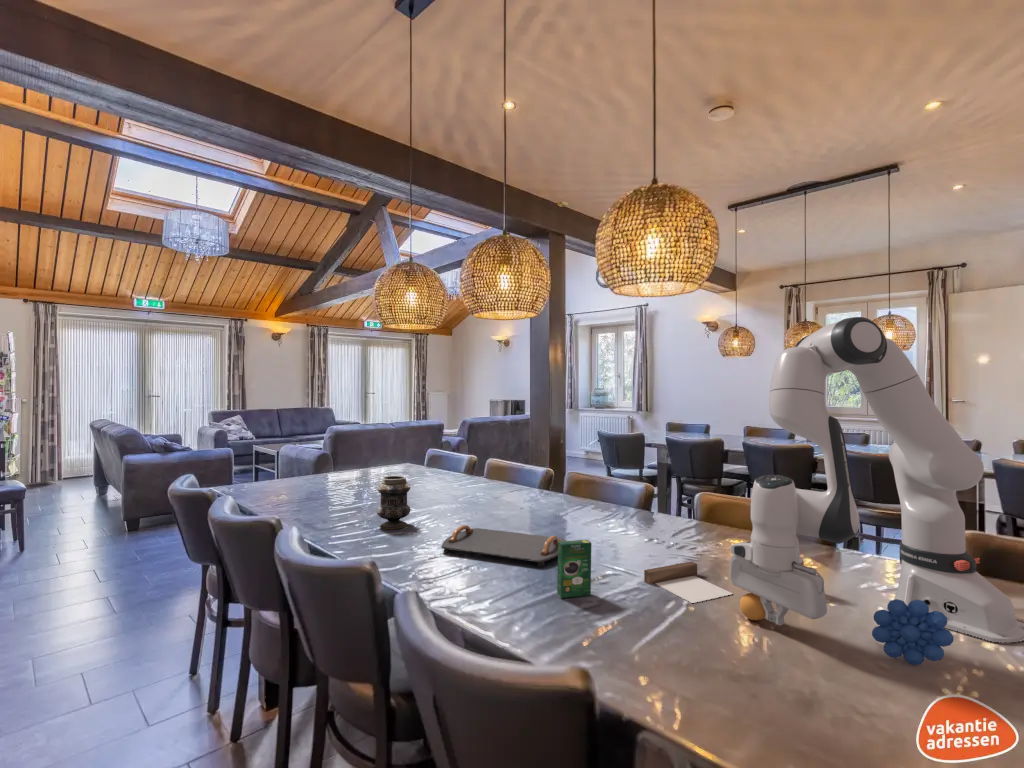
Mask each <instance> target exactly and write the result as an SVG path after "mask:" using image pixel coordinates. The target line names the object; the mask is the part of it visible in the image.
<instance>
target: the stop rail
mask: <svg viewBox="0 0 1024 768" xmlns="http://www.w3.org/2000/svg"><path fill="white" fill-rule="evenodd" d="M690 576H698V563H696V562H694V561H687V562H682V563H675V564H671V565H665V566H664V565H663V566H659V567H654V568H649V569H644V570H643V577H644V578H643V579H644V583H647V584H648V585H652V584H653V585H654V584H655V583H660V582H665V581H670V580H675V579H680V578H685V577H690Z"/></svg>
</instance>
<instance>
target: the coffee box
mask: <svg viewBox="0 0 1024 768" xmlns="http://www.w3.org/2000/svg"><path fill="white" fill-rule="evenodd" d="M591 574H592V542H591V541H590V540H588V539H577V540H576V539H575V540H565V541H558V556H557V575H556V577H557V583H556V585H557V586H556V588H557V590H556V591H557V592H556V593H557V596H558V597H559V598H560V599H569V598H576V597H587V596H591V595H592V594H591V593H592V592H591V591H592V584H591V583H592V575H591Z"/></svg>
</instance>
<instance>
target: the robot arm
mask: <svg viewBox="0 0 1024 768" xmlns="http://www.w3.org/2000/svg"><path fill="white" fill-rule="evenodd" d="M844 371H849V372H850V373H852V375H854V376H855V378H856V381H857V383H858V385H859V388H860V390H861V391H862V393H863V395H864V397H865V399H866V400H867V403H868V404H869V406H870V408H871V410H872V412H873V414H874V415H875V418H876V420H877V422H878V423H879V424H880V426H881V427H882V428H883V429H884V430H885V432H886V433H888V435H889V436H890V438H891V439H892V440H893V441H894V442H893V443H892V444H891V446H890V447H889V450H888V459H889V462H890V464H891V467H892V470H893V474H894V481H895V485H896V490H897V494H898V498H899V504H900V513H901V541H900V542H899V562H900V574H899V581H898V586H897V589H896V594H895V596H894V598H893V600H895V599H898V600H901V601H904V602H905V604H906V605H907V606H908V604H909V603H910V602H911V601H914V600H917V599H918V600H921V601H924V602H925V603H926V604H927V605H928V606H929V612H932V611H938V612H941V613H943V614H944V615H945V616H946V618H947V625H946V626H945V627H944V628H943V629H946V630H951V631H955V632H957V631H958V633H961V632H962V633H961V634H964V633H965V635H967V634H969V635H968V636H970V635H972V636H971V637H974V636H976V637H975V638H977V637H979V638H978V639H980V638H982V639H981V640H984V639H985V640H984V641H987V640H988V641H987V642H990V641H992V642H991V643H994V642H999V643H998V644H1005V643H1004V642H1016V641H1020V640H1023V639H1024V622H1022V621H1020V620H1019V621H1018V620H1017V616H1016V611H1015V608H1014V604H1013V602H1012V600H1011V599H1010V598H1009V596H1008V595H1006V594H1005V593H1004V592H1002V591H1001V590H1000V589H998V588H997V587H996V586H995V585H993V584H992V583H991V582H990V581H989V580H988V579H986V578H985V577H984V576H982V574H980V573H979V572H978V571H977V564H980V563H981V562H980V561H981V560H980V559H981V558H980V557H975V558H974V557H972V555H970V554H969V552H968V551H967V550H966V517H965V514H964V511H963V509H962V508H961V506H960V503H959V501H958V498H957V495H956V492H957V491H959V492H960V491H966V490H969V489H972V488H973V487H975V486H976V485H978V484H979V482H980V481H981V480H982V479H983V476H984V472H985V468H984V462H983V460H982V459H981V456H979V455H978V453H976V452H975V451H974V450H973V449H972V448H971V447H970V446H968V444H967V443H966V442H965V441H964V439H963V438H962V437H961V436H960V435H959V433H958V431H956V429H955V428H954V427H953V426H952V424H951V423H950V422H949V420H948V419H947V418H946V417H945V416H944V415H943V414H942V412H941V411H940V410H939V408H938V407H937V405H936V404H935V402H934V401H933V399H932V397H931V396H930V393H929V392H928V390H927V388H926V386H925V385H924V382H923V381H922V379H921V377H920V375H919V374H918V372H917V371H916V369H915V367H914V365H913V363H912V362H911V361H910V359H909V358H908V357H907V355H906V354H905V353H904V351H903V350H902V349H901V348H900V347H899V345H897V343H896V342H895V341H894V340H892V339H890V338H887V337H886V335H885V334H884V332H883V331H882V329H881V327H879V325H878V324H877V323H875V322H874V321H873V320H871V319H869V318H867V317H864V316H863V317H862V316H853V317H847V318H844V319H841V320H840V321H837V322H833V323H831V324H828V325H825V326H822V327H820V328H819V329H818V330H816V331H814V332H813V333H811V334H808V335H806V336H804V337H802V338H801V339H800V340H799V341H797V343H795V345H794V346H793V347H788V348H785V349H784V350H782V351H780V352H779V353H778V355H777V357H776V359H775V363H774V367H773V370H772V375H771V379H770V385H769V397H768V409H769V415H770V417H771V419H772V421H774V423H775V424H777V425H778V427H780V428H782V429H783V430H785V431H786V432H789V433H791V434H793V435H796V436H798V437H800V438H803V439H804V440H805V439H806V440H807V441H809V442H812V443H814V444H815V445H816V446H818V448H819V449H820V451H821V453H822V456H823V457H822V458H823V461H824V462H823V463H824V464H823V465H824V470H825V471H824V472H825V477H826V486H827V489H826V491H818V490H812V489H811V490H810V489H801V488H798V487H796V485H795V482H794V480H793V479H792V478H790V477H789V476H788V477H787V476H785V475H779V474H768V475H761V476H759V477H756V478H755V479H754V482H753V486H752V490H751V499H750V521H751V524H752V531H751V535H750V541H742V542H738V543H734V544H731V545H730V553H731V556H730V560H729V568H728V569H729V570H728V571H729V572H728V573H729V581H730V582H731V585H733V586H734V587H737V588H739V589H742V590H744V591H747V592H749V593H753V594H755V595H757V596H760V597H761V603H762V606H763V608H764V610H765V611H766V617H765V620H766V621H768V622H770V623H773V624H775V625H778V626H783V625H784V624H785V616H786V615H787V613H788V611H792V612H794V613H796V614H799V615H802V616H804V617H806V618H808V619H810V620H816V619H821V618H823V617H825V616H826V615H827V612H828V608H827V598H826V591H825V580H824V577H823V576H822V574H820V573H819V572H818V571H817V569H816V568H814V567H810V566H806V565H804V564H803V565H802V564H799V551H800V549H799V546H800V543H799V539H798V537H797V535H801V536H802V535H803V536H806V537H814V538H818V539H820V540H823V541H827V542H831V543H834V544H843V543H845V542H847V541H850V540H851V539H853V538H854V537H855V536H857V534H858V533H859V532H858V531H859V528H860V514H859V511H858V507H857V503H856V499H855V495H854V489H853V483H852V477H851V472H850V471H851V470H850V465H849V458H848V452H847V446H846V440H845V435H844V432H843V428H842V425H841V423H840V422H839V420H838V419H837V418H836V417H834V416H831V414H830V413H829V411H828V409H827V406H826V401H825V398H826V397H825V396H826V394H825V393H826V378H827V376H828V375H832V374H833V375H834V374H837V373H842V372H844ZM955 491H956V492H955ZM772 603H774V604H775V607H776V609H777V612H776V611H775V610H774V607H773V604H772ZM929 612H928V613H929ZM1023 641H1024V640H1023ZM1000 642H1001V643H1000ZM1020 642H1021V641H1020ZM1016 643H1017V642H1016Z"/></svg>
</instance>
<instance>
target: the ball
mask: <svg viewBox="0 0 1024 768" xmlns="http://www.w3.org/2000/svg"><path fill="white" fill-rule="evenodd" d="M739 608H740V611H741V613H742V614H743V615H744V616H745V617H746V618H747V619H749V620H751V621H754V620H755V622H757V621H758V620H759V621H762V620H763V619H766V611H765V610H764V608H763V606H762V603H761V597H760V596H757V595H755V594H753V593H751V592H749V593H746V594H744V595H743V596H742V597H741V598H740V601H739Z"/></svg>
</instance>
